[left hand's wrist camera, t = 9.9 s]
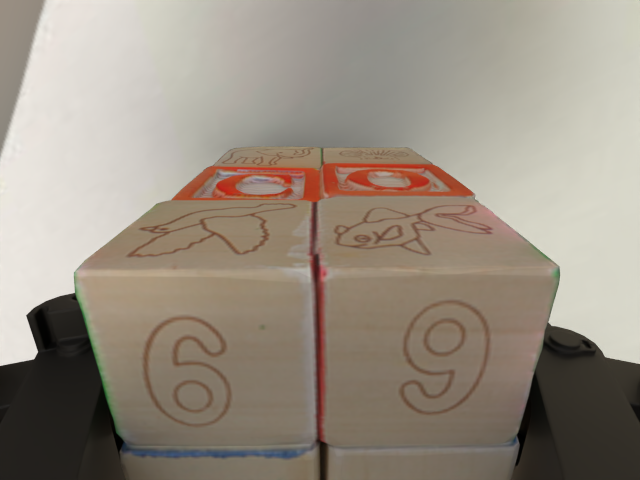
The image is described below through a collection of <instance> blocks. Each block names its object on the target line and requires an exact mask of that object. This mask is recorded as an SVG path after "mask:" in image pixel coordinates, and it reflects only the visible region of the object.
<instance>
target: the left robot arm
mask: <svg viewBox="0 0 640 480" xmlns="http://www.w3.org/2000/svg"><path fill="white" fill-rule="evenodd" d="M26 316H27V319H28V322H29V325H30V328H31V331H32V334H33V337H34V340H35V343H36V347H37V350H38V353H37V355H36V357H35V359H34V360H29V361H24V362H19V363H13V364H8V365H3V366H0V480H126V478H125V475H124V472H123V469H122V466H121V461H120V450H121V447H122V444H123V440H122V439H121V438H120V436H119V435H118V434H117V433H116V429H115V425H114V420H113V417H112V415H111V412H110V409H109V406H108V403H107V400H106V396H105V392H104V388H103V384H102V380H101V376H100V373H99V369H98V366H97V363H96V359H95V356H94V353H93V349H92V346H91V342H90V339H89V335H88V332H87V328H86V325H85V321H84V318H83V314H82V311H81V308H80V305H79V303H78V300H77V297H76V294H75V293H73V294H68V295H63V296H59V297H57V298H54V299H51V300H48V301H46V302H44V303H42V304H40V305H39V306H37V307H35V308H34V309H33V310H31V311H30V312H29V313H28V314H27V315H26ZM517 438H518V441H519V444H520V447H519V452H518V456H517V460H516V463H515V467H514V471H513V474H512V478H511V480H640V364H636V363H631V362H626V361H621V360H615V359H610V358H606V357H605V356H604V355H603V353H602V351H601V350H600V349H599V348H598V346H597V345H596V344H595V343H594V342H592V341H591V340H589V339H588V338H586V337H585V336H583V335H581V334H578V333H576V332H574V331H571V330H568V329H564V328H560V327H556V326H551V325H550V324H549V323H548V324H547V326H546V329H545V332H544V340H543V347H542V351H541V354H540V356H539V359H538V362H537V365H536V368H535V372H534V375H533V379H532V383H531V388H530V392H529V396H528V400H527V403H526V407H525V411H524V414H523V418H522V421H521V424H520V428H519V431H518V433H517Z"/></svg>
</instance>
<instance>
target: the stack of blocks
mask: <svg viewBox="0 0 640 480" xmlns="http://www.w3.org/2000/svg"><path fill="white" fill-rule="evenodd" d="M559 279H560V268H559V266H558V265H557V264H556V263H555V262H553V261H552V260H551V259H550V258H548V257H547V256H546V255H545V254H543V253H542V252H541V251H540V250H538V249H537V248H536V247H535V246H533V245H532V244H531V243H530V242H529V241H527V240H526V239H525V238H524V237H523V236H521V235H520V234H519V233H518V232H516V231H515V230H514V229H513V228H511V227H510V226H509V225H507V224H506V223H505V222H503V221H502V220H501V219H500V218H498V217H497V216H496V215H495V214H494V213H493V212H491V211H490V210H489V209H488V208H486V207H485V206H483V205H481V204H480V203H479V202H478V201H477V200H475V194H474V193H473V192H472V191H471V190H469V189H468V188H467V187H465V186H464V185H463V184H461V183H460V182H459V181H457V180H456V179H455V178H453V177H452V176H450V175H449V174H447V173H446V172H445V171H443V170H442V169H441V168H439V167H437V166H435V165H433V164H432V163H431V162H429V161H428V160H426V159H425V158H423V157H422V156H421V155H419V154H417V153H416V152H415V151H413V150H412V149H410V148H319V147H246V148H235V149H231V150H230V151H228V152H227V153H226V154H225V155H223V156H222V157H221V158H220V159H219V160H218V161H217V162H216V163H215V164H214V165H213V166H211V167H208V168H206V169H205V170H204V171H203V172H202V173H200V174H199V175H198V176H197V177H196V178H194V179H193V180H192V181H191V182H190V183H189V184H187V185H186V186H185V187H184V188H183V189H182V190H181V191H180V192H179V193H178V194H177V195H176V196H175V197H174V198H173V199H172V200H171V201H165V202H161V203H158V204H156V205H155V206H154V207H153V208H151V209H150V210H149V211H148V212H146V213H145V214H144V215H143V216H141V217H140V218H139V219H138V220H136V221H135V222H134V223H132V224H131V225H130V226H128V227H127V228H126V229H125V230H123V231H122V232H121V233H120V234H118V235H117V236H116V237H115V238H113V239H112V240H111V241H109V242H108V243H107V244H106V245H104V246H103V247H102V248H100V249H99V250H98V251H97V252H95V253H94V254H93V255H91V256H90V257H89V258H88V259H86V260H85V261H84V262H83V263H82V264H81V265H80V266H79V268H78V269H77V270H76V271H75V272H74V284H75V294H76V297H77V300H78V303H79V305H80V308H81V311H82V314H83V318H84V321H85V325H86V328H87V332H88V335H89V339H90V342H91V346H92V349H93V353H94V356H95V359H96V363H97V366H98V369H99V373H100V376H101V380H102V384H103V388H104V392H105V396H106V400H107V403H108V406H109V409H110V412H111V415H112V417H113V420H114V425H115V429H116V433H117V434H118V435H119V436H120V438H121V439H122V440H123V444H122V447H121V450H120V461H121V466H122V469H123V472H124V475H125V478H126V480H511V478H512V474H513V471H514V467H515V463H516V460H517V456H518V452H519V447H520V444H519V441H518V438H517V433H518V431H519V428H520V424H521V421H522V418H523V414H524V411H525V407H526V403H527V400H528V396H529V392H530V388H531V383H532V379H533V375H534V372H535V368H536V365H537V362H538V359H539V356H540V354H541V351H542V347H543V340H544V332H545V329H546V326H547V324H548V321H549V317H550V314H551V310H552V306H553V303H554V299H555V296H556V292H557V289H558V285H559Z"/></svg>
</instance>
